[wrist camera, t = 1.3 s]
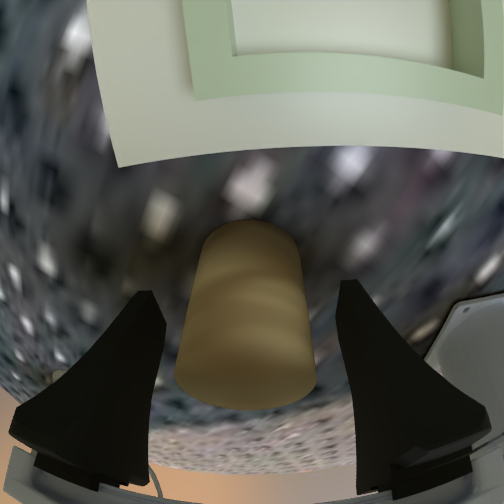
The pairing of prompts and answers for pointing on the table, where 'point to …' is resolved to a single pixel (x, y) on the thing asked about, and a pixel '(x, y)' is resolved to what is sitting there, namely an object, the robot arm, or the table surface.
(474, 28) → the socket board
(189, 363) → the maple peg
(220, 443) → the table surface
